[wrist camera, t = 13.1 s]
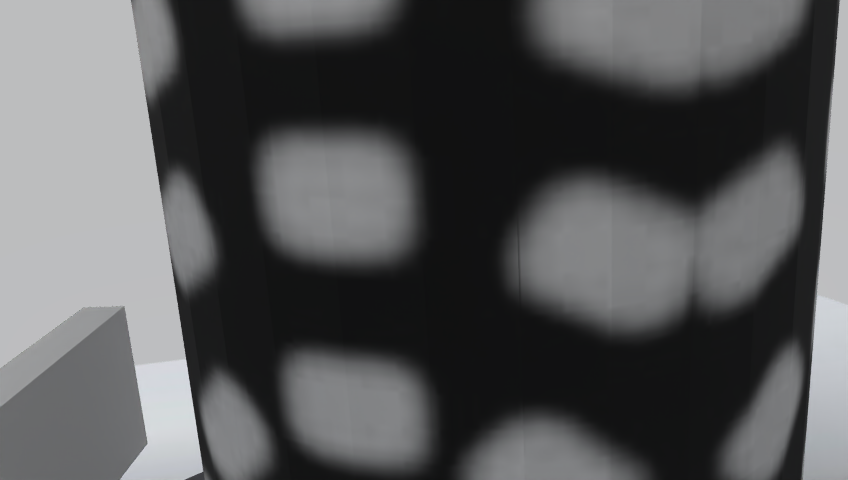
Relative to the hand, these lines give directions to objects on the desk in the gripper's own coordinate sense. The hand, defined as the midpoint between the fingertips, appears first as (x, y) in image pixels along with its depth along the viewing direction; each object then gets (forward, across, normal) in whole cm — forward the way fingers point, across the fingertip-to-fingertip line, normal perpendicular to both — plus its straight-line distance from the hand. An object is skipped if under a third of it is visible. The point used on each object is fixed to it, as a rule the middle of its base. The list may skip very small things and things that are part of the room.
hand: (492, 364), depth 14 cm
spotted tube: (-2, 0, -12) cm, 13 cm away
